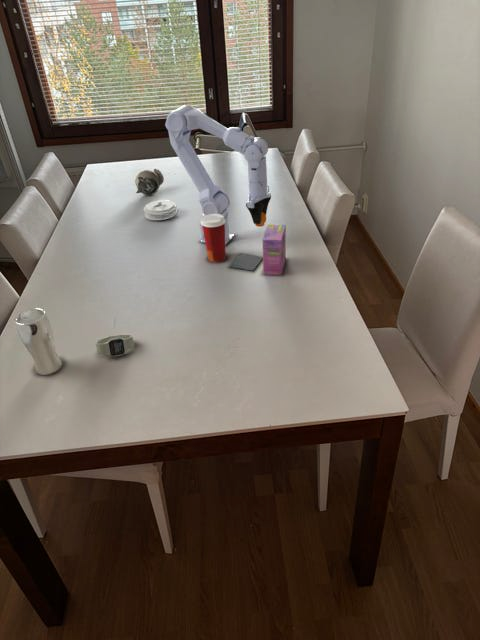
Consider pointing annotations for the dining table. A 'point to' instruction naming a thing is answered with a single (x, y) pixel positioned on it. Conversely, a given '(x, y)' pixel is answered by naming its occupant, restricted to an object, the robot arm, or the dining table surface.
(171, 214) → the lid
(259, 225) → the clementine
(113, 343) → the wristwatch
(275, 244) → the box
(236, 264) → the felt pad
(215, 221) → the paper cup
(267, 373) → the dining table surface
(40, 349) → the beer glass
